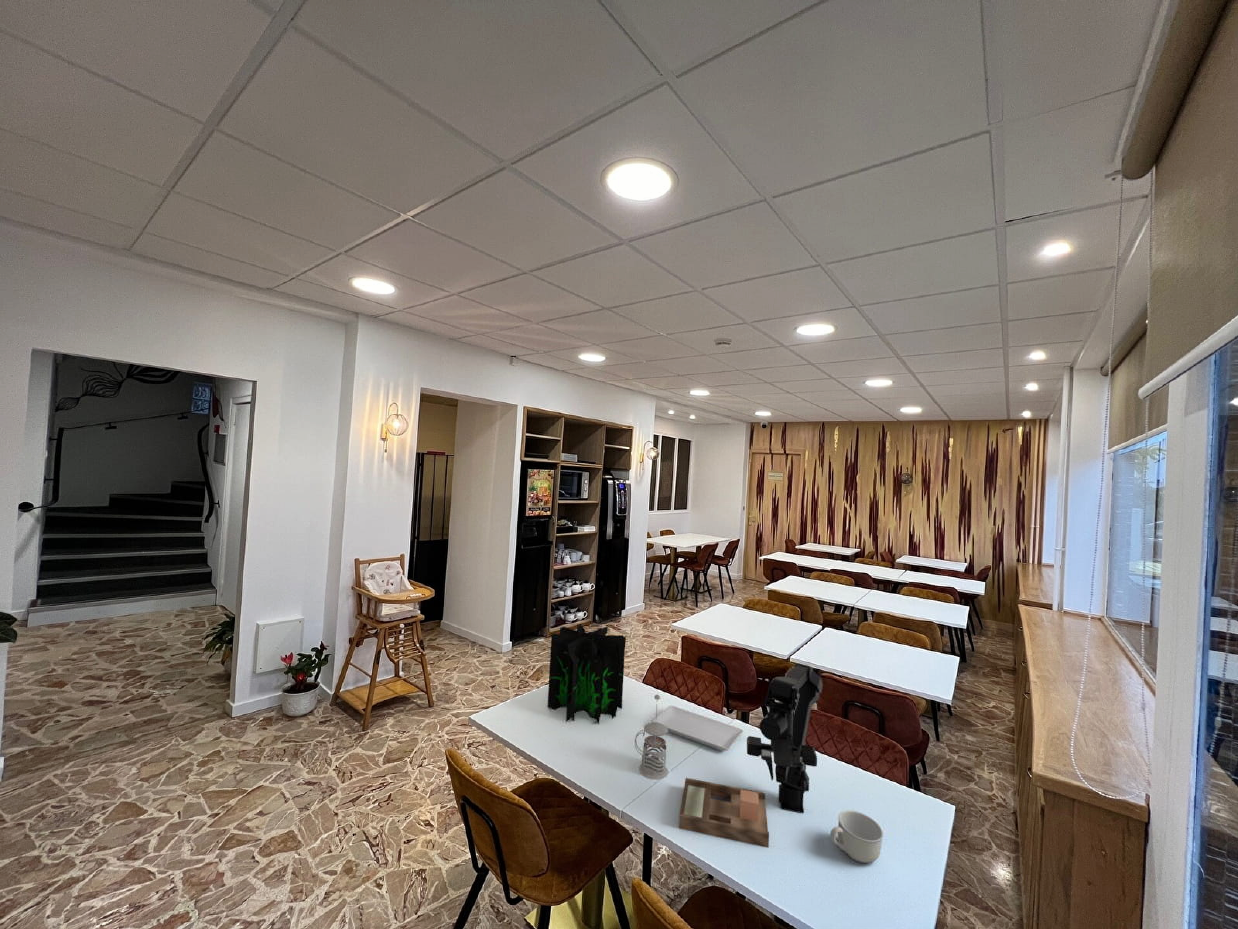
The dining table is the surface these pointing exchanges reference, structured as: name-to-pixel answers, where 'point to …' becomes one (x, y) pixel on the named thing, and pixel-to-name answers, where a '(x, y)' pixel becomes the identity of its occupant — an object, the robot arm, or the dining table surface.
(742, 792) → the block
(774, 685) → the robot arm
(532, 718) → the dining table surface
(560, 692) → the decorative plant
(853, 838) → the teacup
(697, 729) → the tray
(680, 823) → the box
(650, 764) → the french press
